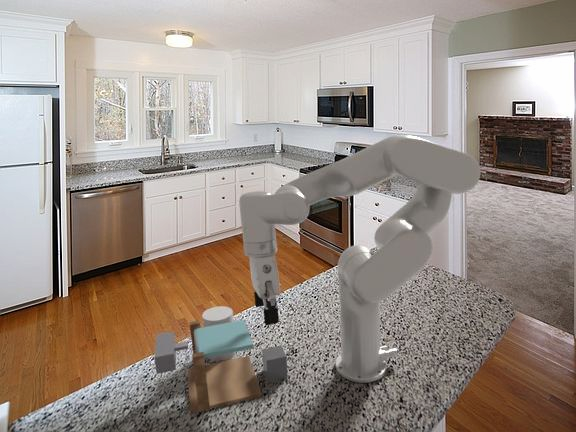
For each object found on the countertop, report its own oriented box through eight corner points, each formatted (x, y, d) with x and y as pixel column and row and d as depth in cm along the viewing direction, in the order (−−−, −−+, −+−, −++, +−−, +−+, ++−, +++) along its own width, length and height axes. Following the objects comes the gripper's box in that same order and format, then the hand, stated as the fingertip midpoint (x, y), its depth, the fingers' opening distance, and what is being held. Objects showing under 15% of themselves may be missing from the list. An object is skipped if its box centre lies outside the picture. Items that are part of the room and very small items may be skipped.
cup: (242, 351, 105) (238, 311, 102) (218, 365, 99) (214, 323, 96) (223, 341, 110) (220, 303, 108) (200, 354, 104) (196, 314, 102)
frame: (249, 358, 101) (245, 312, 98) (261, 396, 86) (258, 344, 83) (188, 371, 97) (182, 323, 94) (190, 414, 82) (183, 359, 79)
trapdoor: (244, 329, 98) (243, 315, 97) (254, 356, 86) (253, 340, 85) (158, 346, 92) (156, 331, 91) (156, 377, 80) (154, 360, 79)
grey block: (282, 366, 97) (281, 345, 96) (287, 378, 93) (286, 356, 91) (263, 370, 96) (261, 349, 95) (268, 382, 91) (266, 360, 90)
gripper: (287, 254, 79) (292, 328, 83) (267, 234, 95) (272, 296, 99) (252, 260, 77) (259, 335, 81) (237, 238, 93) (244, 302, 97)
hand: (266, 314), depth 90 cm, fingers open, 9 cm apart
